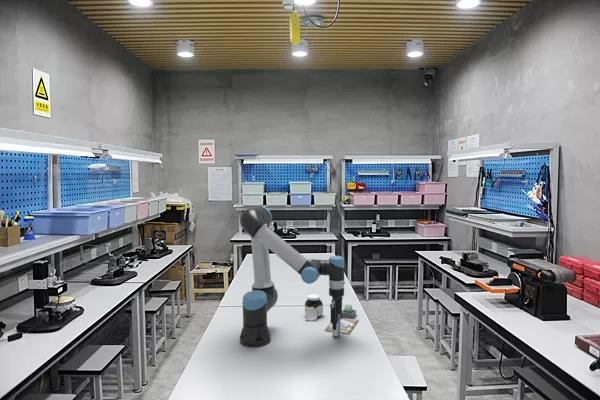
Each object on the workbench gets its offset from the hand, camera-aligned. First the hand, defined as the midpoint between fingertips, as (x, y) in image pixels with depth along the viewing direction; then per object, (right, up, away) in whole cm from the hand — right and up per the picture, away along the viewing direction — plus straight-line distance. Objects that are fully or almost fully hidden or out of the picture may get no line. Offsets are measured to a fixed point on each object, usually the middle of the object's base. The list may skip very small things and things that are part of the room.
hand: (336, 333), depth 203 cm
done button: (+9, +3, +27) cm, 29 cm away
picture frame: (+4, -1, +14) cm, 15 cm away
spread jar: (-10, 0, +27) cm, 29 cm away
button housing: (+9, +1, +28) cm, 29 cm away
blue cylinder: (0, -1, 0) cm, 1 cm away
